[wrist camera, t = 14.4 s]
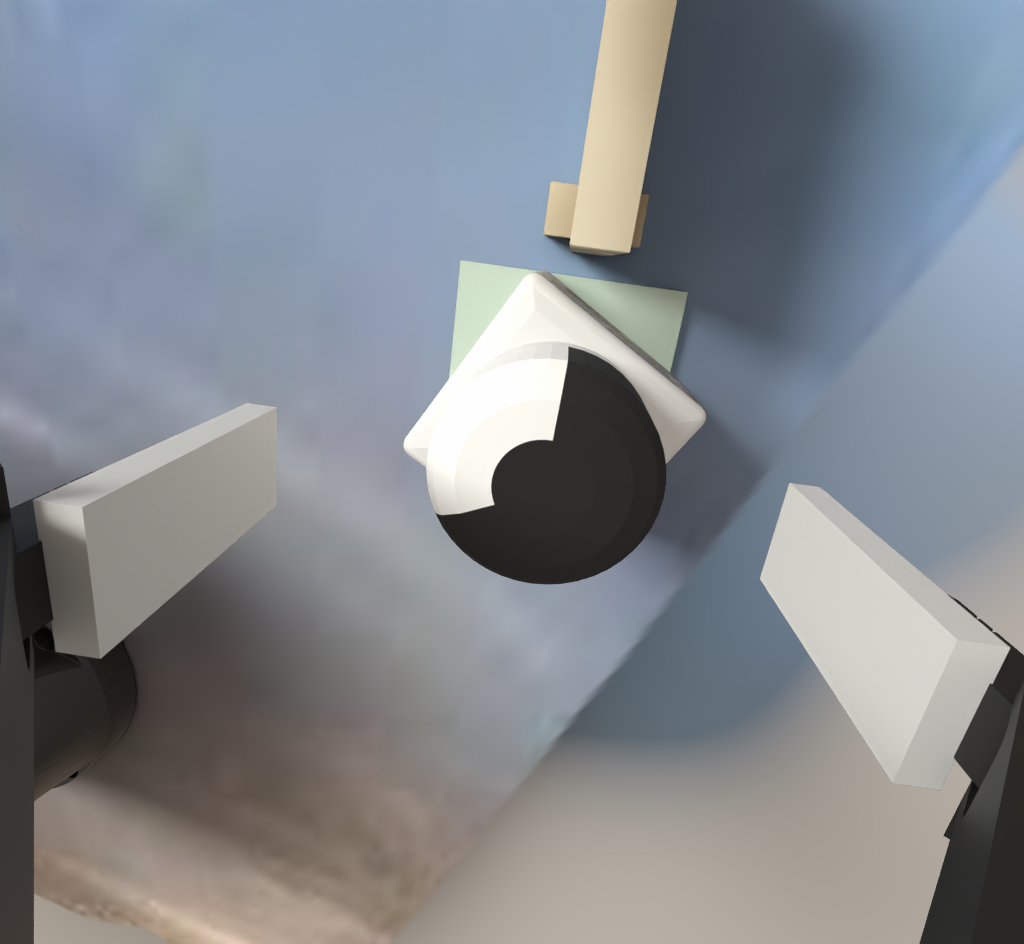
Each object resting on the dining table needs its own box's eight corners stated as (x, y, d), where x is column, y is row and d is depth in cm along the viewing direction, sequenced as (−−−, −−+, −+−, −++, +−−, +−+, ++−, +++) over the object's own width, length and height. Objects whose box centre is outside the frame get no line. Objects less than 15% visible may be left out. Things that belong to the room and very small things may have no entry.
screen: (543, 247, 26) (524, 238, 16) (600, -168, 21) (629, -572, 11) (634, 260, 26) (675, 258, 16) (713, -156, 21) (848, -555, 11)
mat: (442, 469, 30) (440, 472, 30) (462, 260, 27) (460, 260, 26) (640, 500, 30) (640, 503, 29) (686, 292, 26) (688, 292, 26)
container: (675, 376, 27) (761, 470, 15) (566, 498, 29) (563, 665, 17) (542, 265, 26) (515, 269, 14) (441, 401, 28) (342, 506, 16)
